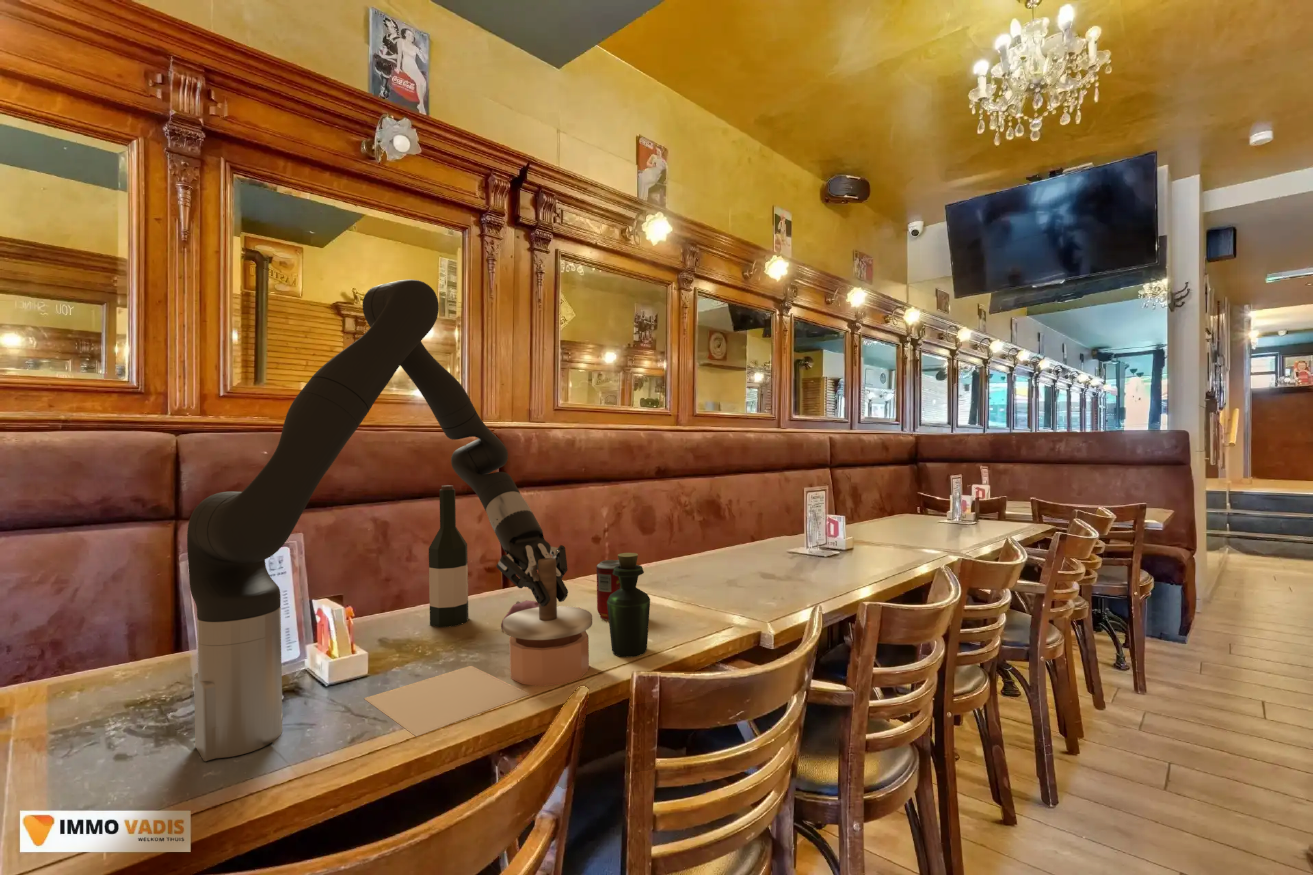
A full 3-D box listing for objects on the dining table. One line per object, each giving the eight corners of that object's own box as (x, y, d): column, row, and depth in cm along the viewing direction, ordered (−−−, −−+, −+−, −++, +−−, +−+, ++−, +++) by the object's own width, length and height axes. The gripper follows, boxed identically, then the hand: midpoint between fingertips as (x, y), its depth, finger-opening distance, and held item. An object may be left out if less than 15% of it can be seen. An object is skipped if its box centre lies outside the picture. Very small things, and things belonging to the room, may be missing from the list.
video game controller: (546, 639, 126) (556, 605, 128) (533, 635, 122) (543, 600, 125) (511, 632, 131) (521, 600, 134) (497, 628, 127) (507, 595, 130)
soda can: (622, 622, 131) (621, 565, 132) (592, 620, 133) (591, 564, 133) (633, 613, 138) (632, 559, 138) (604, 611, 140) (603, 558, 140)
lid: (537, 646, 93) (536, 573, 93) (485, 626, 104) (484, 561, 104) (610, 623, 104) (609, 558, 104) (556, 607, 115) (555, 548, 115)
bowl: (540, 694, 95) (539, 655, 95) (495, 673, 104) (494, 637, 104) (603, 670, 104) (602, 635, 104) (557, 653, 113) (556, 620, 113)
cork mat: (416, 739, 81) (416, 736, 81) (363, 700, 93) (363, 698, 93) (530, 696, 94) (530, 693, 94) (470, 667, 106) (470, 665, 106)
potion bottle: (647, 642, 118) (646, 549, 118) (654, 657, 110) (653, 557, 110) (605, 645, 117) (604, 551, 117) (609, 660, 109) (608, 559, 109)
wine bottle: (456, 628, 129) (454, 487, 130) (421, 626, 131) (419, 487, 131) (476, 616, 138) (473, 484, 138) (442, 615, 139) (440, 484, 139)
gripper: (486, 513, 104) (529, 596, 96) (553, 505, 114) (597, 580, 106) (471, 540, 108) (511, 623, 99) (537, 530, 118) (578, 605, 109)
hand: (555, 600), depth 103 cm, fingers closed on lid, 3 cm apart
